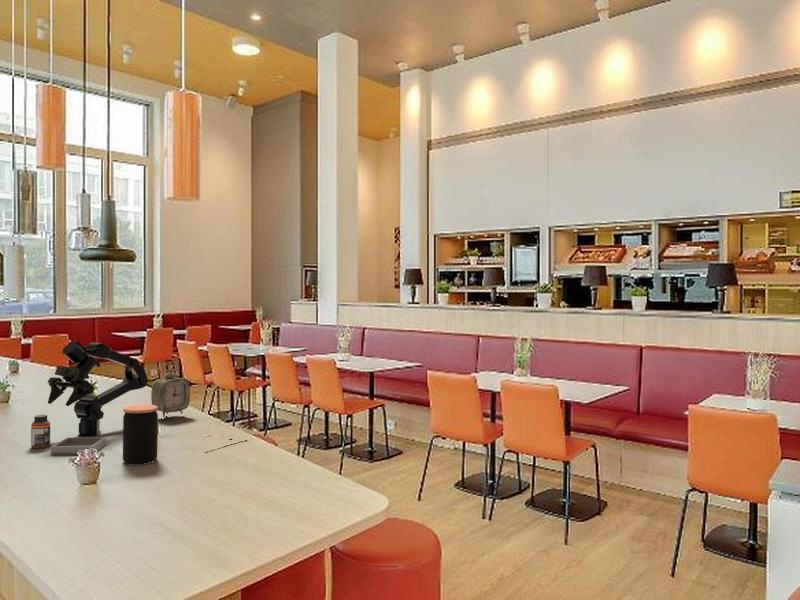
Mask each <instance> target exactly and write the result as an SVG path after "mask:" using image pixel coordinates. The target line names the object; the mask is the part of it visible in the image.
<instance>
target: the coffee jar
mask: <svg viewBox="0 0 800 600" xmlns="http://www.w3.org/2000/svg"><path fill="white" fill-rule="evenodd" d="M157 410H158V406H156V405H152V404H136V405H134V404H133V405H129V406H127V405H126V406H125V407H123V412H124V415H123V416H122V417H123V419H122V421H123V422H122V461H123V462H124V464H126V463H127V464H126V465H128V464H144V463H149V462H152V461H154V460H155V461H156V460H157V458H158V430H159V428H158V423H159V421H158V419H159V414H158V412H157ZM155 461H154V462H155ZM152 463H153V462H152ZM149 464H150V463H149ZM144 465H145V464H144Z"/></svg>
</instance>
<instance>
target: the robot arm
mask: <svg viewBox="0 0 800 600" xmlns="http://www.w3.org/2000/svg"><path fill="white" fill-rule="evenodd" d="M61 352H62V354H63V355H64V356H65V357H66V358H68V359H69V360H70V362H71V363H72V364H73V363H74V364H75V366H74V365H69V366H59V365H58V366H56V369H55V371H54V376H52V377H49V379H48V380H47V384H48V385H49V387H50V393H49V396H48V400H47V403H48V404H49V405H51V404H52V403H54V402H55V401H56V400H57V399H58V398H59V397H60V396H62V395H63V394H65V393H64V392H65V391H66V389H67V388H72V389H73V390H72V393H71V394H70V396H69V398H67V401H66V403H65V406H67V407H69V406H71V405H73V404H74V406H73V411H74V413H75V415H76V418H77V419H79V422H78V436H79V437H83V436H84V437H85V436H87V437H89V436H90V437H92V436H93V437H94V436H95V437H96V436H97V435H99V434H100V433H101V432H102V430H100V426H101V425H100V424H101V421H100V420H102V419H103V418H104V416H105V413H104V411H102V410H101V409H102V408H103V406H105V405H107V404H108V403H110V402H113V401H114V400H115V399H119V398H120V397H121V396H123V395H125V394H126V393H129V392H130V391H136V390H141V389H144V388H146V387H147V386H148V382H149V379H148V378H149V377H148V376H147V373H146V371H145V369H144V368H143V366H141V364H140V362H139V361H140V360H138V359H137V358H133V357H131V356H128V355H126V354H123V353H120V352H118V351H115V350H113V349H112V348H111V347H110V346H109V345H107V344H106V343H102V342H90V343H88V344H87V345H86V346H83V345H82V344H81V343H80V341H79V340H73V341H72V342H71V343H70V342H69V343H68V344H67V345H66V346H64V347H63V348H62V351H61ZM96 358H97V359H98V360H97V359H96ZM99 359H105V360H108V361H109V362H110V361H111V362H113V363H116V364H118V365H121V366H124V378H123V380H122V382H120V383H118V384H116V385H114V386H113V387H110V388H109V389H106V390H105V391H103V392H101V393H99V394H97V395H93V393H94V391H95V386H93V385H92V383H90V381H88V380H89V378H90V375H89V374H90V373H91V372H92V370H93V369H94V368H101V363H100V360H99ZM133 371H134V372H133ZM55 375H56V376H57V377H55ZM58 376H60V377H58Z"/></svg>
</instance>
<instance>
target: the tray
mask: <svg viewBox="0 0 800 600" xmlns="http://www.w3.org/2000/svg"><path fill="white" fill-rule="evenodd" d="M103 446H104V447H106V446H107V436H104V437H103V436H99V437H96V436H95V437H94V436H93V437H92V436H90V437H89V436H87V437H85V436H84V437H83V436H79V437H66V438H64V439H62V440H60V441H59V442H57V443H56V444H53V445H52V446H50V456H77V455H76V454H77V452H78V451H79V450H85V449H90V448H94V449H96V450H98V451H100V450H101V449H103V448H104V447H103ZM102 447H103V448H102ZM100 448H101V449H100ZM99 449H100V450H99Z"/></svg>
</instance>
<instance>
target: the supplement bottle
mask: <svg viewBox="0 0 800 600" xmlns="http://www.w3.org/2000/svg"><path fill="white" fill-rule="evenodd" d="M30 425H31V430H30V433H31V434H30V437H31V438H30V440H31V442H30V443H31V446H30V447H31V448H32V449H36V448H39V449H44V448H48V447H51V421H50V420H49V419H48V415H47V414H36V415H34V420H33V421H32V423H31V424H30Z"/></svg>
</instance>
